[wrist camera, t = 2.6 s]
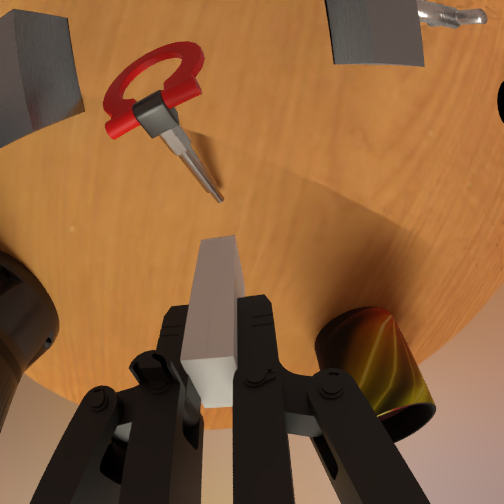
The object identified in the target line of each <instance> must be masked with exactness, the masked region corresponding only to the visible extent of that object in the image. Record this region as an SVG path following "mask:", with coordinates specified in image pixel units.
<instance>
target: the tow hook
mask: <svg viewBox="0 0 504 504" xmlns="http://www.w3.org/2000/svg"><path fill="white" fill-rule="evenodd" d="M170 58H181V59H182V62H181V64H180V66H179V67H178V69H177V70H176V71H175V72H174V73H173V74H172V75H171V76H170V77H169V78H168V79H167V80H166V81H165V82H164V90H158V91H156V92H154V93H153V94H151V95H149V96H147V97H145V98H143V99H142V100H140V101H138V102H136V100H135V99H123V93H124V91H125V89H126V88H127V86H128V85H129V84H130V82H131V81H132V80H133V79H134V78H135V77H136V76H138V75H139V74H140V73H141V72H143V71H144V70H145V69H147V68H148V67H150V66H152V65H154V64H156V63H158V62H160V61H163V60H166V59H170ZM204 60H205V58H204V53H203V51H202V49H201V47H200V46H199V45H197V44H196V43H193V42H189V41H186V42H176V43H171V44H167V45H165V46H162V47H160V48H157V49H155V50H153V51H151V52H149V53H147V54H145V55H144V56H142V57H141V58H139V59H138V60H136V61H135V62H133V63H132V64H131V65H130V66H128V67H127V68H126V69H125V70H124V71H123V72H122V73H121V74H120V75H119V76H118V77H117V78H116V79H115V80H114V82H113V83H112V84H111V85H110V87H109V89H108V90H107V92H106V94H105V97H104V101H103V108H104V111H105V112H106V113H107V114H108V115H109V116H110V117H111V120H109V121H108V122H106V123H105V129H106V131H107V133H108V135H109V136H110V137H111V138H112V139H116V138H118V137H120V136H122V135H123V134H125V133H127V132H128V131H130V130H132V129H134V128H135V127H137V126H139V125H141V126H142V127H143V128H144V129H145V131H146V132H147V133H148V134H149V135H150V137H151V138H155V137H156V136H158V135H159V136H160V138H161V139H162V140H163V142H164V143H165V144H166V146H167V147H168V148H169V149H170V151H171V152H172V153H174V154H175V155H177V156H179V158H180V159H181V160H182V162H183V163H184V164H185V165H186V167H187V168H188V169H189V170H190V172H191V173H192V174H193V176H194V177H195V178H196V179H197V181H198V182H199V183H200V184H201V186H202V187H203V188H204V190H205V191H206V192H207V193H211V195H212V196H213V197H214V199H215V200H216V201H217V202H218V203H221V202H223V201H224V197H223V195H222V194H221V192H220V191H219V190H218V188H217V187H218V184H217V183H216V181H215V180H214V178H213V177H212V176H211V174H210V173H209V171H208V170H207V168H206V167H205V166H204V164H203V163H202V161H201V160H200V159H199V157H198V156H197V154H196V153H195V151H194V150H193V149H192V147H191V146H190V145H191V141H190V139H189V138H188V136H187V135H186V134H185V132H184V131H183V129H182V128H181V127H180V125H179V119H178V112H177V111H176V109H175V108H174V107H175V106H177V105H179V104H182V103H184V102H186V101H188V100H190V99H192V98H194V97H196V96H199V95H201V94H202V92H201V88H200V86H199V84H198V82H197V80H196V78H195V77H196V76H197V74H198V73H199V71H200V70H201V68H202V67H203V63H204Z"/></svg>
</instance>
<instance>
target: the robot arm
mask: <svg viewBox="0 0 504 504" xmlns="http://www.w3.org/2000/svg"><path fill="white" fill-rule="evenodd" d="M58 332H59V318H58V314H57V311H56V308H55V306H54V304H53V302H52V300H51V298H50V296H49V294H48V293H47V291H46V290H45V288H44V287H43V286H42V284H41V283H40V282H39V281H38V279H37V278H36V277H35V276H34V275H33V274H32V273H31V272H30V271H29V270H28V269H27V268H26V267H25V266H24V265H23V264H21V263H20V262H19V261H18V260H16V259H15V258H13V257H12V256H10V255H9V254H7V253H5V252H3V251H1V250H0V432H1V429H2V426H3V423H4V420H5V418H6V415H7V412H8V410H9V406H10V404H11V402H12V399H13V396H14V394H15V391H16V389H17V386H18V384H19V382H20V379H21V377H22V375H23V373H24V372H25V371H26V370H27V369H28V368H29V367H30V366H31V365H32V364H33V363H34V362H35V361H36V360H37V359H38V358H39V357H40V356H41V355H42V354H44V353H45V352H46V351H47V350H48V349H49V348H50V347H51V346H52V344H53V343H54V341H55V339H56V337H57V335H58ZM159 336H160V338H159V340H158V344H157V348H156V350H151V351H146V352H144V353H142V354H140V355H138V356H137V357H136V358H135V359H134V360H133V361H132V362H131V364H130V366H129V369H130V371H131V372H132V374H133V375H134V377H135V378H136V380H137V381H138V383H139V385H138V386H135V387H133V388H130V389H126V390H123V391H120V392H115V391H114V390H113V389H112V388H110V387H109V386H98V387H94V388H93V389H91V390H90V391H88V393H87V394H86V395H85V396H84V398H83V400H82V401H81V403H80V405H79V407H78V409H77V410H76V412H75V414H74V416H73V418H72V420H71V421H70V423H69V425H68V427H67V429H66V431H65V433H64V435H63V436H62V438H61V440H60V442H59V444H58V446H57V448H56V450H55V452H54V454H53V456H52V458H51V460H50V462H49V464H48V466H47V468H46V470H45V472H44V474H43V476H42V478H41V480H40V482H39V484H38V487H37V489H36V491H35V493H34V495H33V497H32V500H31V502H30V504H201V478H202V453H203V452H202V451H203V432H204V420H203V416H202V415H201V413H200V407H201V402H202V404H203V406H204V407H205V408H214V407H230V406H233V504H295V498H294V488H293V478H292V469H291V460H290V450H289V441H288V433H289V434H296V435H301V436H308V437H310V439H311V441H312V443H313V445H314V447H315V449H316V452H317V454H318V456H319V458H320V460H321V462H322V465H323V466H324V468H325V471H326V473H327V475H328V477H329V479H330V481H331V484H332V486H333V488H334V490H335V492H336V494H337V496H338V498H339V500H340V502H341V504H430V502H429V500H428V499H427V497H426V495H425V494H424V492H423V491H422V488H421V487H420V485H419V483H418V482H417V480H416V479H415V477H414V475H413V474H412V472H411V470H410V469H409V467H408V465H407V464H406V462H405V460H404V459H403V458H402V455H401V454H400V452H399V451H398V449H397V447H396V446H395V444H394V442H393V441H392V439H391V438H390V436H389V434H388V433H387V431H386V429H385V428H384V426H383V425H382V423H381V421H380V420H379V418H378V417H377V415H376V413H375V412H374V410H373V408H372V407H371V405H370V404H369V402H368V400H367V399H366V397H365V396H364V394H363V392H362V391H361V389H360V388H359V386H358V385H357V383H356V381H355V380H354V378H353V377H352V376H351V375H350V374H349V373H348V372H346V371H343V370H341V369H335V368H329V369H324V370H321V371H319V372H317V373H316V374H314V375H313V376H304V375H298V374H294V373H292V372H290V371H288V370H286V369H285V368H284V367H283V366H282V365H281V363H280V362H279V357H278V349H277V341H276V333H275V326H274V319H273V312H272V304H271V302H270V301H269V299H268V298H267V297H266V296H265V294H263V295H256V296H248V297H245V284H244V279H243V274H242V269H241V264H240V259H239V254H238V249H237V243H236V238H235V235H232V236H225V237H219V238H212V239H205V240H201V243H200V248H199V253H198V259H197V264H196V269H195V274H194V280H193V285H192V291H191V296H190V302H189V305H180V306H171V308H170V309H169V310H168V312H167V313H166V314H165V316H164V319H163V323H162V329H161V331H160V335H159Z"/></svg>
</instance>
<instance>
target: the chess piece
mask: <svg viewBox="0 0 504 504" xmlns="http://www.w3.org/2000/svg"><path fill="white" fill-rule="evenodd" d="M497 104H498V111H499V115H500V117H501V120H502V122H503V123H504V81H503V82H502V83H501V86H500V88H499V91H498V98H497Z"/></svg>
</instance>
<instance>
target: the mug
mask: <svg viewBox="0 0 504 504" xmlns="http://www.w3.org/2000/svg"><path fill="white" fill-rule="evenodd" d="M315 351H316V355H317V360H318V364H319V368H320V371H321V370H324V369H329V368H335V369H341V370H343V371H346V372H348V373H349V374H350V375H351V376H352V377H353V378H354V380H355V381H356V383H357V385H358V386H359V388H360V389H361V391H362V392H363V394H364V396H365V397H366V399H367V400H368V402H369V404H370V405H371V407H372V408H373V410H374V412H375V413H376V415H377V417H378V418H379V420H380V421H381V423H382V425H383V426H384V428H385V429H386V431H387V433H388V434H389V436H390V438H391V439H392V441H393V442H394V443H395V442H398V441H400V440H402V439H404V438H406V437H408V436H410V435H411V434H413V433H415V432H416V431H418V430H419V429H420V428H422V427H423V426H424V425H425V424H426V423H428V422H429V421H430V419H431V418H432V417H433V415H434V414H435V412H436V406H435V403H434V401H433V399H432V397H431V394H430V392H429V390H428V387H427V385H426V383H425V381H424V379H423V377H422V374H421V372H420V370H419V368H418V366H417V364H416V361H415V359H414V357H413V355H412V353H411V351H410V349H409V347H408V345H407V343H406V341H405V339H404V337H403V335H402V333H401V331H400V329H399V327H398V325H397V323H396V321H395V319H394V318H393V316H392V314H391V313H389V312H388V311H387V310H385V309H382V308H378V307H362V308H357V309H353V310H350V311H348V312H345V313H343V314H341V315H339V316H338V317H336V318H334V319H333V320H331V321H330V322H329V323H328V324H327V325H326V326H325V327H324V328H323V329H322V330H321V331H320V333H319V334H318V336H317V338H316V341H315Z"/></svg>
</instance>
